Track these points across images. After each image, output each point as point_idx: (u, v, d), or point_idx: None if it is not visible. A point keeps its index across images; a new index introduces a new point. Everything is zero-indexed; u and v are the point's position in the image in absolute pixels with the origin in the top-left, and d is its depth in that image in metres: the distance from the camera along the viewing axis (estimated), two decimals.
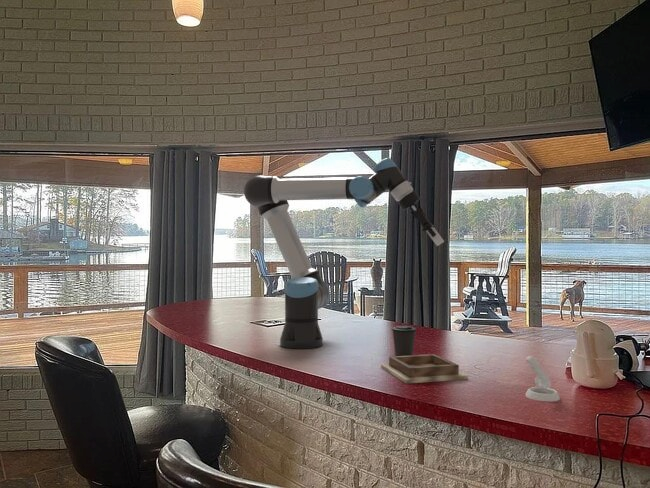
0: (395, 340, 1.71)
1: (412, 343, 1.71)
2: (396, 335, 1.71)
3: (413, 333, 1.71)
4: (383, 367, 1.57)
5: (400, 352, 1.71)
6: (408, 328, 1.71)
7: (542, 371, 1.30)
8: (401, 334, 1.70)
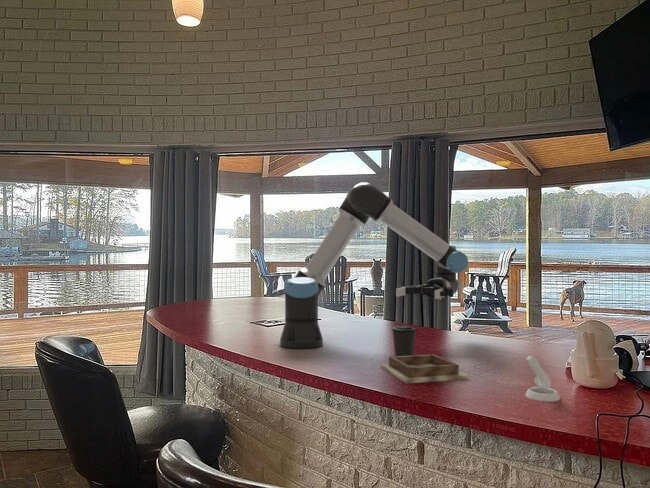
0: (395, 340, 1.71)
1: (412, 343, 1.71)
2: (396, 335, 1.71)
3: (413, 333, 1.71)
4: (383, 367, 1.57)
5: (400, 352, 1.71)
6: (408, 328, 1.71)
7: (542, 371, 1.29)
8: (401, 334, 1.70)
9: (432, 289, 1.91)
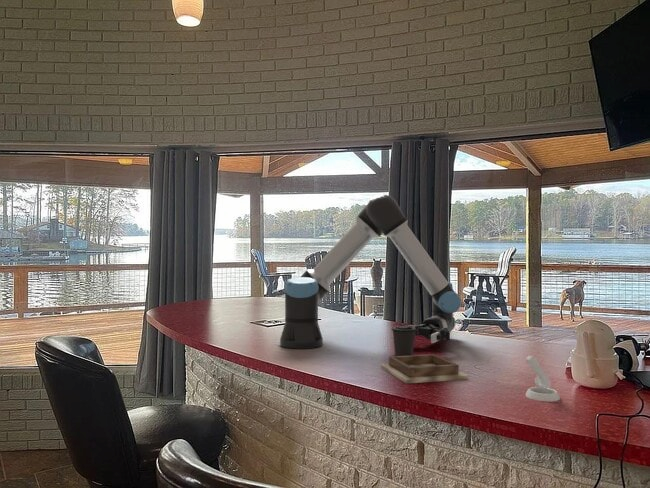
0: (395, 340, 1.71)
1: (412, 343, 1.71)
2: (396, 335, 1.71)
3: (413, 333, 1.71)
4: (383, 367, 1.57)
5: (400, 352, 1.71)
6: (408, 328, 1.71)
7: (542, 371, 1.29)
8: (401, 334, 1.70)
9: (428, 330, 1.86)
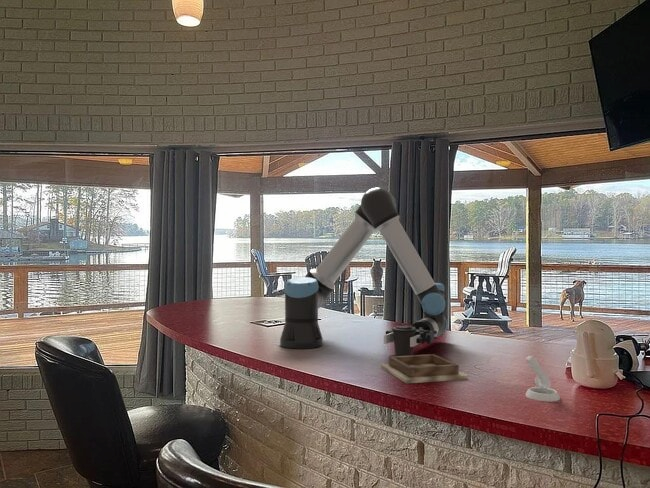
0: (395, 340, 1.71)
1: None
2: (396, 335, 1.71)
3: (413, 333, 1.71)
4: (383, 367, 1.57)
5: (400, 352, 1.71)
6: (408, 328, 1.71)
7: (542, 371, 1.30)
8: (401, 334, 1.70)
9: (418, 333, 1.80)
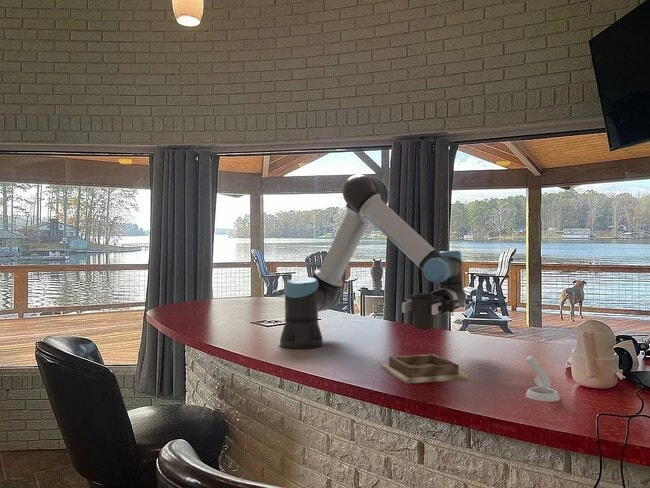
0: (414, 308, 1.55)
1: None
2: (415, 303, 1.55)
3: (434, 300, 1.55)
4: (383, 367, 1.57)
5: (420, 321, 1.55)
6: (429, 295, 1.55)
7: (542, 371, 1.29)
8: (421, 301, 1.54)
9: (437, 302, 1.64)
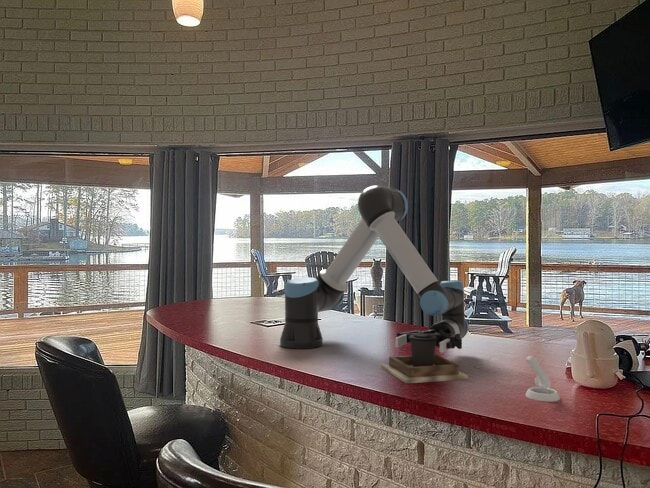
0: (413, 350, 1.51)
1: (432, 353, 1.51)
2: (414, 344, 1.51)
3: (434, 342, 1.50)
4: (383, 367, 1.57)
5: (419, 363, 1.50)
6: (428, 336, 1.50)
7: (542, 371, 1.29)
8: (420, 343, 1.49)
9: (438, 337, 1.60)
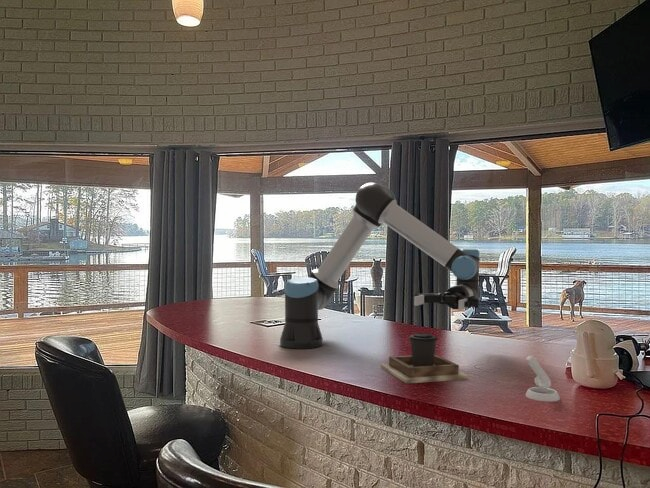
0: (413, 350, 1.51)
1: (433, 353, 1.51)
2: (414, 344, 1.51)
3: (434, 342, 1.50)
4: (383, 367, 1.57)
5: (419, 363, 1.51)
6: (428, 336, 1.50)
7: (542, 371, 1.29)
8: (420, 343, 1.50)
9: (454, 298, 1.70)
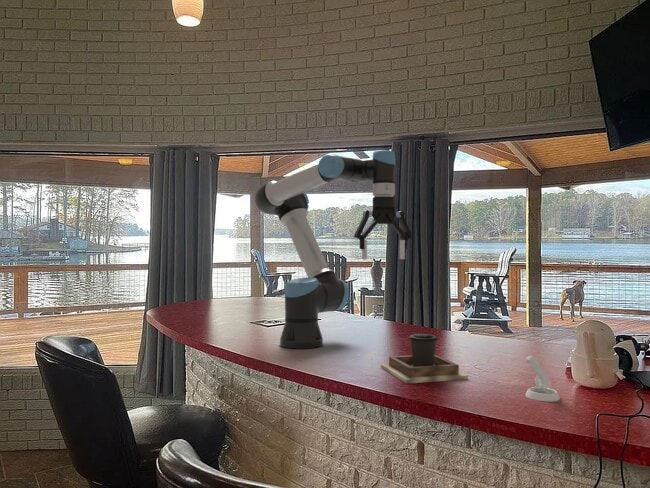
0: (413, 350, 1.51)
1: (433, 353, 1.51)
2: (414, 344, 1.51)
3: (434, 342, 1.50)
4: (383, 367, 1.57)
5: (419, 363, 1.51)
6: (428, 336, 1.50)
7: (542, 371, 1.30)
8: (420, 343, 1.50)
9: (379, 223, 1.85)
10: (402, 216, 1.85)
